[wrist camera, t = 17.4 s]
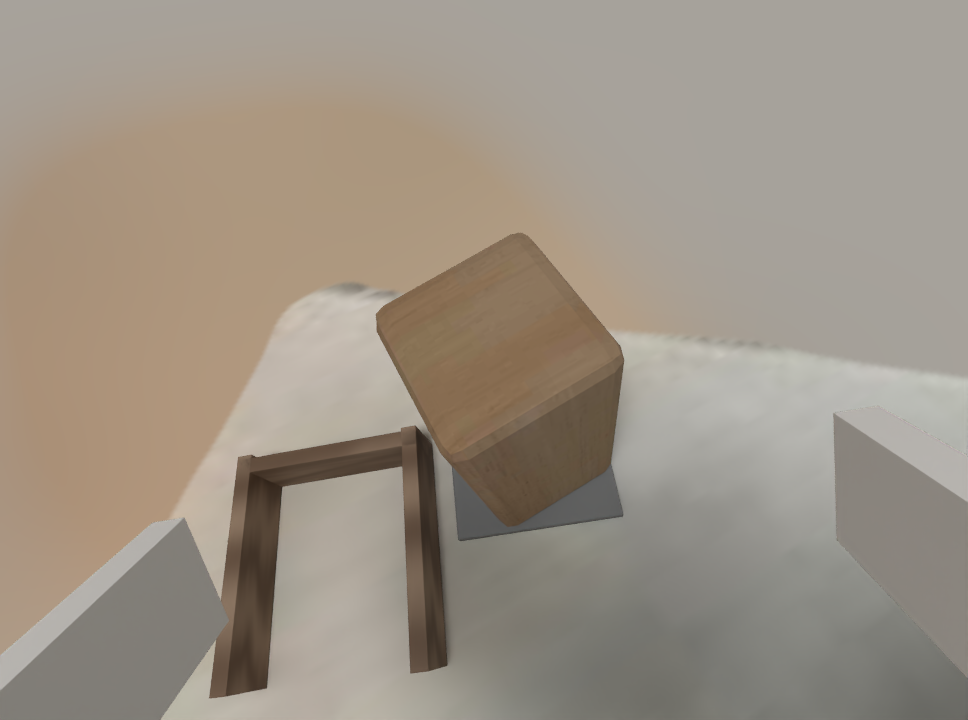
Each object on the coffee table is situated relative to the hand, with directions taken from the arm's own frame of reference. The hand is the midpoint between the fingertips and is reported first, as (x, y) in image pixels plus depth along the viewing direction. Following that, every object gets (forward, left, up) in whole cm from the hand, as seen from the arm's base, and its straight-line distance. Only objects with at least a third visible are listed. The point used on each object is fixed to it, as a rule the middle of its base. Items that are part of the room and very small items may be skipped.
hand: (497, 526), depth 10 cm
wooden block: (+11, +1, -31) cm, 33 cm away
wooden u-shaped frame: (+6, +17, -32) cm, 36 cm away
